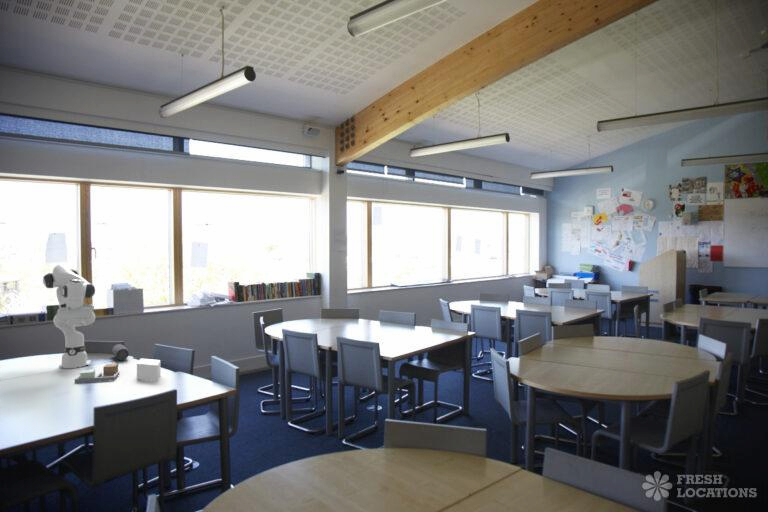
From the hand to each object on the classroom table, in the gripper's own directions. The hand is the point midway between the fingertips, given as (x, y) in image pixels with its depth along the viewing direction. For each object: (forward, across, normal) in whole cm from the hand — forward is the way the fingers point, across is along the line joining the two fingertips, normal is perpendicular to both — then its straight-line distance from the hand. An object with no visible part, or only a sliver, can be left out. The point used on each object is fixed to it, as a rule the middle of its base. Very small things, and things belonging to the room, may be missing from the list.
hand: (75, 325), depth 306 cm
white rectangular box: (+33, -46, +18) cm, 59 cm away
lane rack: (+33, -16, +12) cm, 38 cm away
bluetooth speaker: (+33, -18, -49) cm, 62 cm away
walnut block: (+33, -21, -2) cm, 39 cm away
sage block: (+33, -10, +15) cm, 38 cm away
